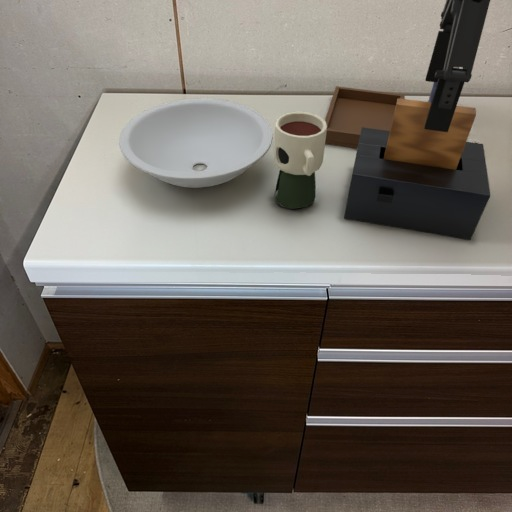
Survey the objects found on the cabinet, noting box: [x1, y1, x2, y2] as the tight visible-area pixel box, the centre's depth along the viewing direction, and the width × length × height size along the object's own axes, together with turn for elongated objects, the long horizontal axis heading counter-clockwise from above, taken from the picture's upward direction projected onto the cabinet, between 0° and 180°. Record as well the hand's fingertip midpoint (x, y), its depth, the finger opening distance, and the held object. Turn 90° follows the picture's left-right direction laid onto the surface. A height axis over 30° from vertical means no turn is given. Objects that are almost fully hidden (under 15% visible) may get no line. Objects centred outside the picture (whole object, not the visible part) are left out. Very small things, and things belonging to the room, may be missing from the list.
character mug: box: [273, 111, 327, 210], centre depth 69 cm, size 11×7×13 cm, turn 12°
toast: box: [383, 98, 477, 170], centre depth 66 cm, size 10×2×12 cm, turn 75°
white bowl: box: [118, 97, 274, 189], centre depth 77 cm, size 24×24×7 cm
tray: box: [324, 85, 406, 149], centre depth 89 cm, size 18×14×3 cm
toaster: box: [343, 127, 492, 241], centre depth 70 cm, size 18×14×8 cm
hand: (435, 103), depth 61 cm, fingers open, 13 cm apart
